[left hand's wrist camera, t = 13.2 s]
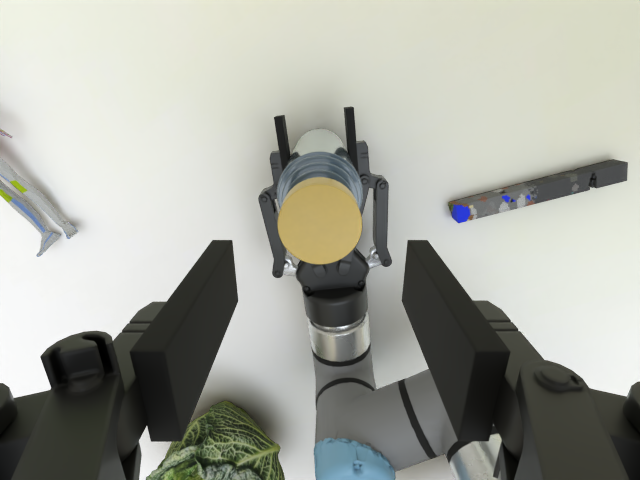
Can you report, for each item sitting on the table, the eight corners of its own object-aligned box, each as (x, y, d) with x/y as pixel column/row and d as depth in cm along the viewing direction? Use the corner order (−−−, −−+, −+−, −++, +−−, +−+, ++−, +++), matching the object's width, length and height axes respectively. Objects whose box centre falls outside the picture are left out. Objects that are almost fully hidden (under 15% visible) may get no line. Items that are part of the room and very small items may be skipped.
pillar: (626, 180, 42) (455, 223, 44) (612, 176, 44) (449, 218, 46) (627, 162, 41) (453, 207, 43) (613, 159, 43) (447, 202, 45)
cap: (372, 226, 21) (377, 238, 20) (308, 264, 22) (307, 278, 20) (332, 161, 20) (333, 167, 18) (265, 203, 21) (260, 214, 19)
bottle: (354, 162, 44) (395, 239, 20) (312, 188, 45) (304, 290, 21) (328, 117, 42) (338, 145, 18) (284, 146, 43) (241, 207, 19)
